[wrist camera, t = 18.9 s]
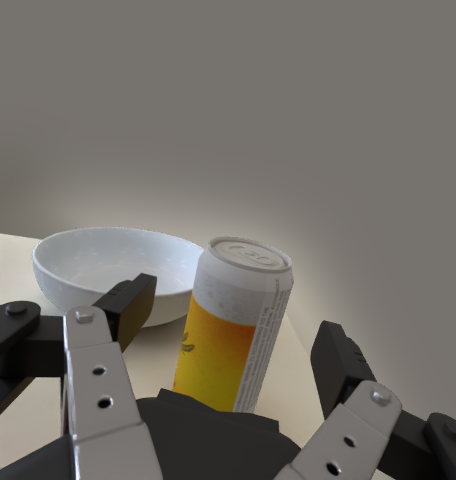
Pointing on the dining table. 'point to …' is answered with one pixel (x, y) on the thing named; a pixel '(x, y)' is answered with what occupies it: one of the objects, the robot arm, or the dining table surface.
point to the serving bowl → (116, 267)
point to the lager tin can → (232, 323)
